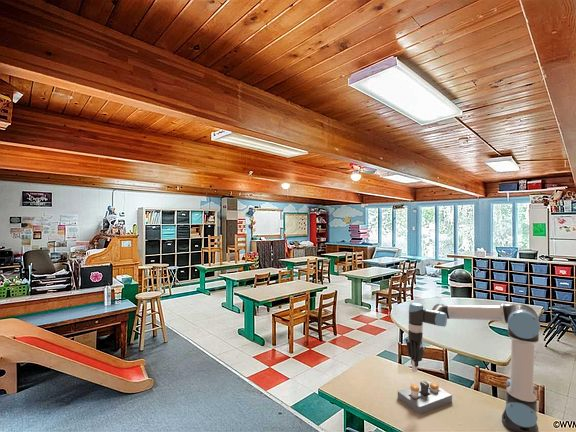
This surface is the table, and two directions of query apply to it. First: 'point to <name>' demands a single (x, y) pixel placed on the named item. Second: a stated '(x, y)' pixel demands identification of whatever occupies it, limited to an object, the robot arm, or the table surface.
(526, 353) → the robot arm
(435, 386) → the knob far
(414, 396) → the knob near
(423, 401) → the panel
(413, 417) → the table surface
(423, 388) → the dial
